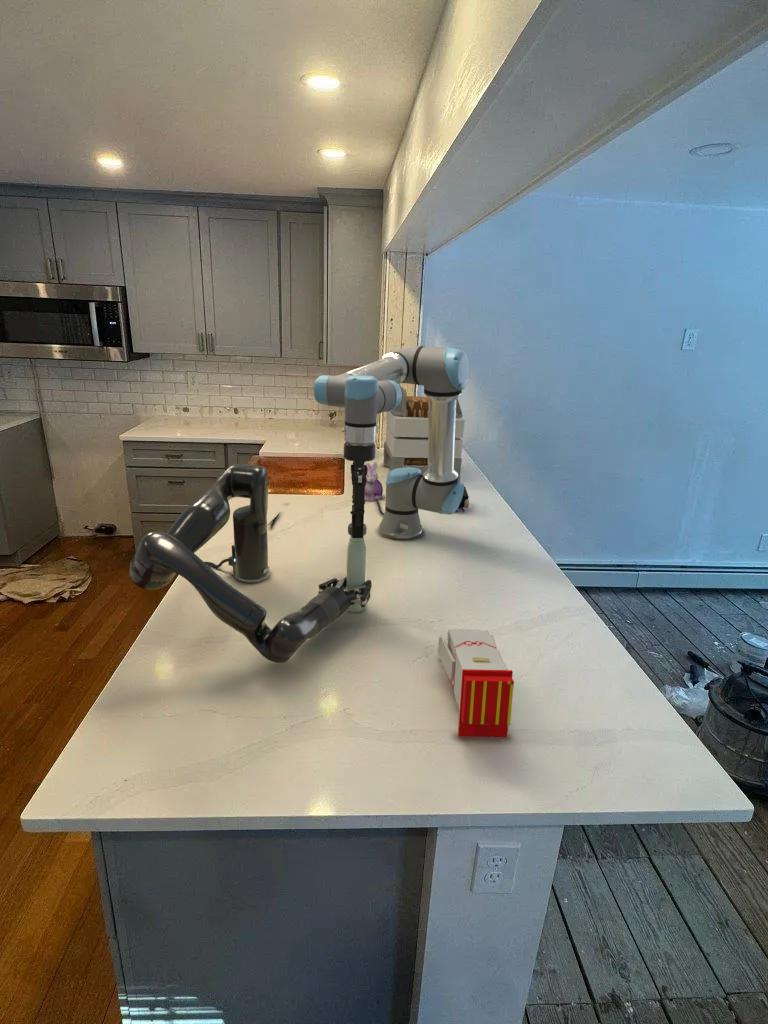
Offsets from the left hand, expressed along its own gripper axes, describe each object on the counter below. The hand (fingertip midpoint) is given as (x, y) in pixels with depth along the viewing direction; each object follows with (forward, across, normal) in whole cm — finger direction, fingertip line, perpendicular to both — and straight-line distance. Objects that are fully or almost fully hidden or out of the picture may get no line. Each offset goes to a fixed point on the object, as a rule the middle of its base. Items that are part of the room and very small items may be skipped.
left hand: (360, 580), depth 150 cm
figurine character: (+89, -5, -7) cm, 89 cm away
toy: (-21, +38, -7) cm, 44 cm away
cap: (-3, 0, +16) cm, 17 cm away
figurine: (+80, -40, -7) cm, 90 cm away
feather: (+41, -58, -7) cm, 72 cm away
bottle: (-3, 0, -7) cm, 7 cm away
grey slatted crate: (+127, -39, -7) cm, 133 cm away
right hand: (-3, 0, +14) cm, 15 cm away
